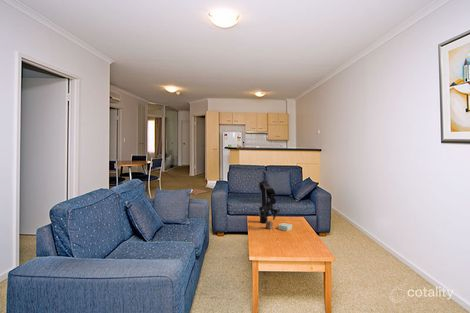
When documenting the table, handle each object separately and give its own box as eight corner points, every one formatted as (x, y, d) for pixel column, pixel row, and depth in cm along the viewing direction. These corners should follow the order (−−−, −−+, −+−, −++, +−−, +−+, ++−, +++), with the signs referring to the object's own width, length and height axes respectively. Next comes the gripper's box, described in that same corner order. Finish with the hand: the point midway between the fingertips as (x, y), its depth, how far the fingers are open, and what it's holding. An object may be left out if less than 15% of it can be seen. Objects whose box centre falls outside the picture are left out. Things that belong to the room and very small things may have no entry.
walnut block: (265, 228, 236) (265, 221, 236) (268, 227, 240) (268, 220, 239) (270, 229, 233) (270, 222, 233) (272, 228, 237) (272, 221, 237)
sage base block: (278, 229, 235) (278, 224, 235) (282, 227, 242) (282, 222, 242) (287, 231, 230) (287, 226, 229) (291, 228, 237) (291, 224, 237)
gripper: (256, 202, 235) (255, 219, 235) (274, 204, 224) (274, 222, 224) (262, 200, 244) (262, 216, 244) (280, 202, 233) (280, 220, 233)
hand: (269, 219), depth 236 cm, fingers open, 9 cm apart
